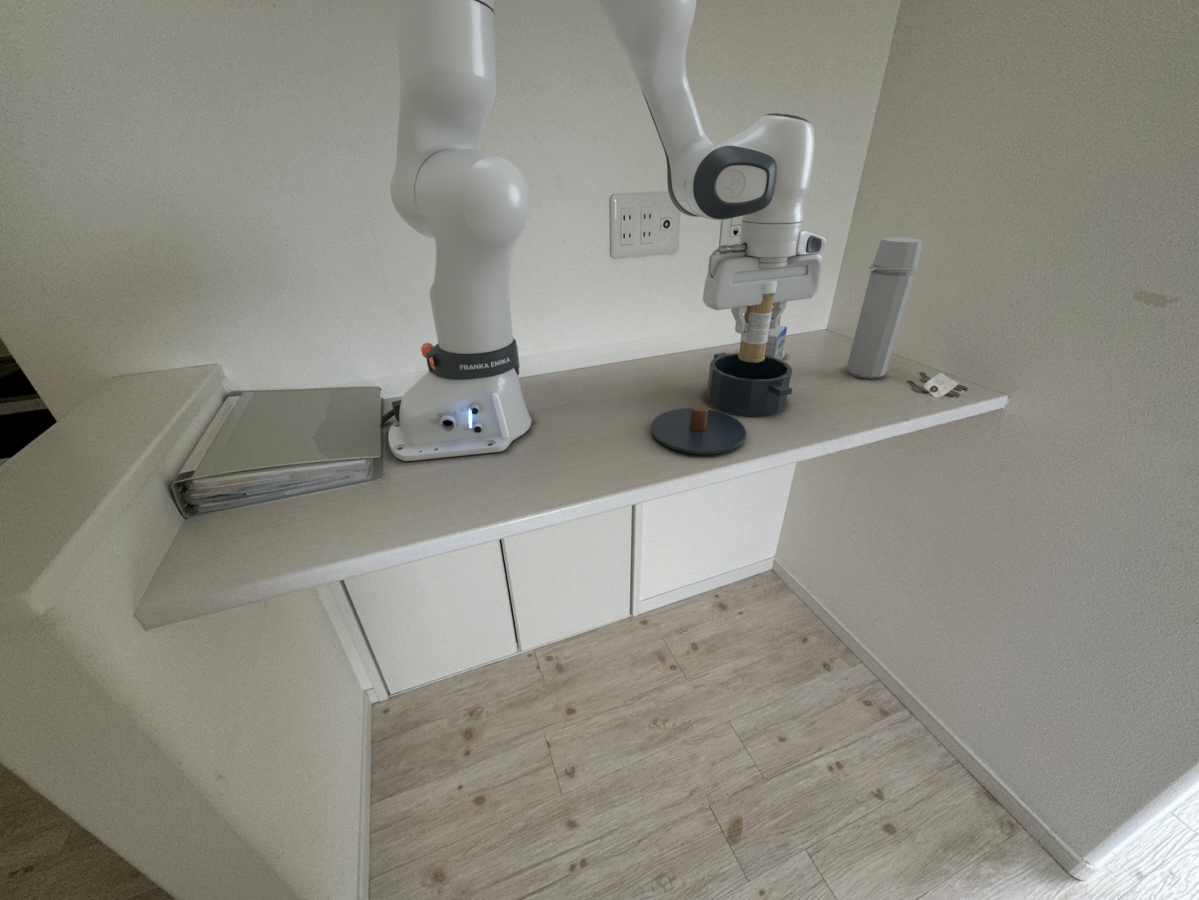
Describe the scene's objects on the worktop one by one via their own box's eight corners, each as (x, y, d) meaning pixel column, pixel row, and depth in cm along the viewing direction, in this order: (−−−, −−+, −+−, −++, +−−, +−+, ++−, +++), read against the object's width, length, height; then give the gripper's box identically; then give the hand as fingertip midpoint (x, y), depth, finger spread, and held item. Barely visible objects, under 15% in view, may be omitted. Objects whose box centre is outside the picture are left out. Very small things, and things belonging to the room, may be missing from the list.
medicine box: (771, 380, 97) (778, 336, 93) (748, 376, 99) (755, 333, 95) (780, 367, 103) (788, 326, 99) (759, 363, 105) (765, 323, 101)
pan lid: (680, 466, 70) (683, 437, 68) (635, 423, 82) (636, 397, 80) (764, 445, 75) (769, 418, 73) (710, 407, 87) (713, 383, 84)
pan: (745, 429, 80) (751, 392, 76) (685, 386, 95) (688, 354, 92) (813, 414, 84) (821, 379, 81) (745, 376, 99) (749, 344, 96)
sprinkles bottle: (739, 353, 88) (750, 274, 81) (766, 356, 87) (779, 276, 80) (735, 362, 85) (746, 280, 78) (763, 365, 83) (776, 282, 76)
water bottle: (892, 381, 96) (934, 242, 83) (849, 379, 97) (884, 242, 84) (876, 364, 104) (913, 235, 91) (837, 363, 105) (867, 235, 92)
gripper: (723, 249, 70) (713, 343, 77) (835, 239, 77) (816, 327, 84) (699, 243, 75) (692, 332, 82) (806, 235, 82) (791, 318, 89)
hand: (755, 330), depth 83 cm, fingers closed on sprinkles bottle, 4 cm apart
